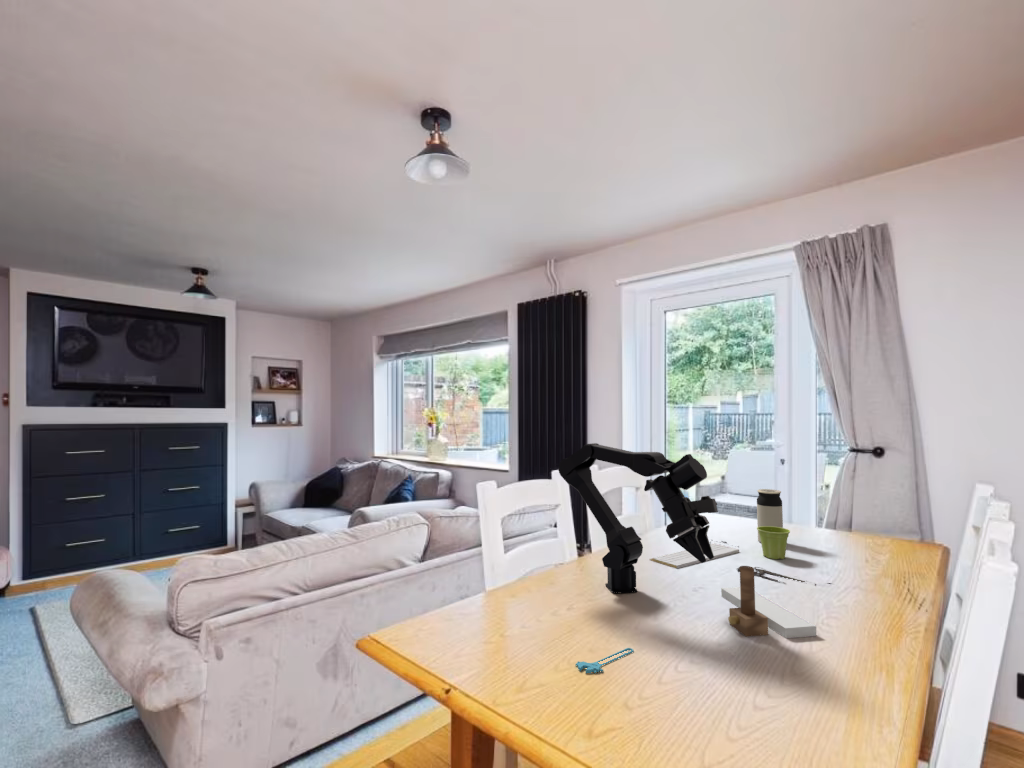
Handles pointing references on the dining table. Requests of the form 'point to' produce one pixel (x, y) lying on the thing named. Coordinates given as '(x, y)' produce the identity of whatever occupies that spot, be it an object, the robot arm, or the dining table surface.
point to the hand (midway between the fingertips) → (708, 560)
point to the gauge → (748, 607)
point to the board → (774, 615)
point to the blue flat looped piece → (596, 666)
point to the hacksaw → (769, 573)
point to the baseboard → (687, 559)
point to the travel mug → (769, 509)
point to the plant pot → (773, 541)
